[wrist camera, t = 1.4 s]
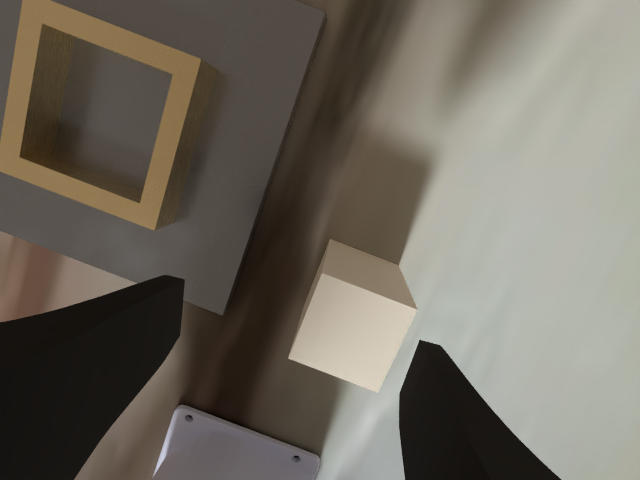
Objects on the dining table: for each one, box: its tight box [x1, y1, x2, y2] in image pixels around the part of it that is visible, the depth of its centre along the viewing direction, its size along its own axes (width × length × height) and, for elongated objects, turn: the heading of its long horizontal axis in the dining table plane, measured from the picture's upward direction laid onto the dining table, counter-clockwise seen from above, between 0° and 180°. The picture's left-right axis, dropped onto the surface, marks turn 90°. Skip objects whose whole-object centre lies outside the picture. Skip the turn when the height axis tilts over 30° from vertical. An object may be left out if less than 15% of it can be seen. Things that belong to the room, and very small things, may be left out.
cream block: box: [288, 239, 418, 393], centre depth 18 cm, size 4×4×6 cm
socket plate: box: [0, 0, 327, 316], centre depth 18 cm, size 16×16×3 cm
